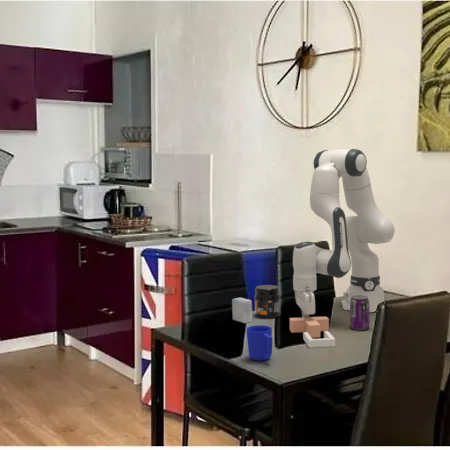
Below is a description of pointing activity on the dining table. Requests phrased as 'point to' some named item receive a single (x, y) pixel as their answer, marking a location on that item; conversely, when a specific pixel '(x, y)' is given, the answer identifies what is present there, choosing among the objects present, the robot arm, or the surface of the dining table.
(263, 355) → the mug
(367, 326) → the beverage can
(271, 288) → the supplement container
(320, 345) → the dock
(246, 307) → the medicine box
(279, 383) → the dining table surface
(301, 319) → the t block
